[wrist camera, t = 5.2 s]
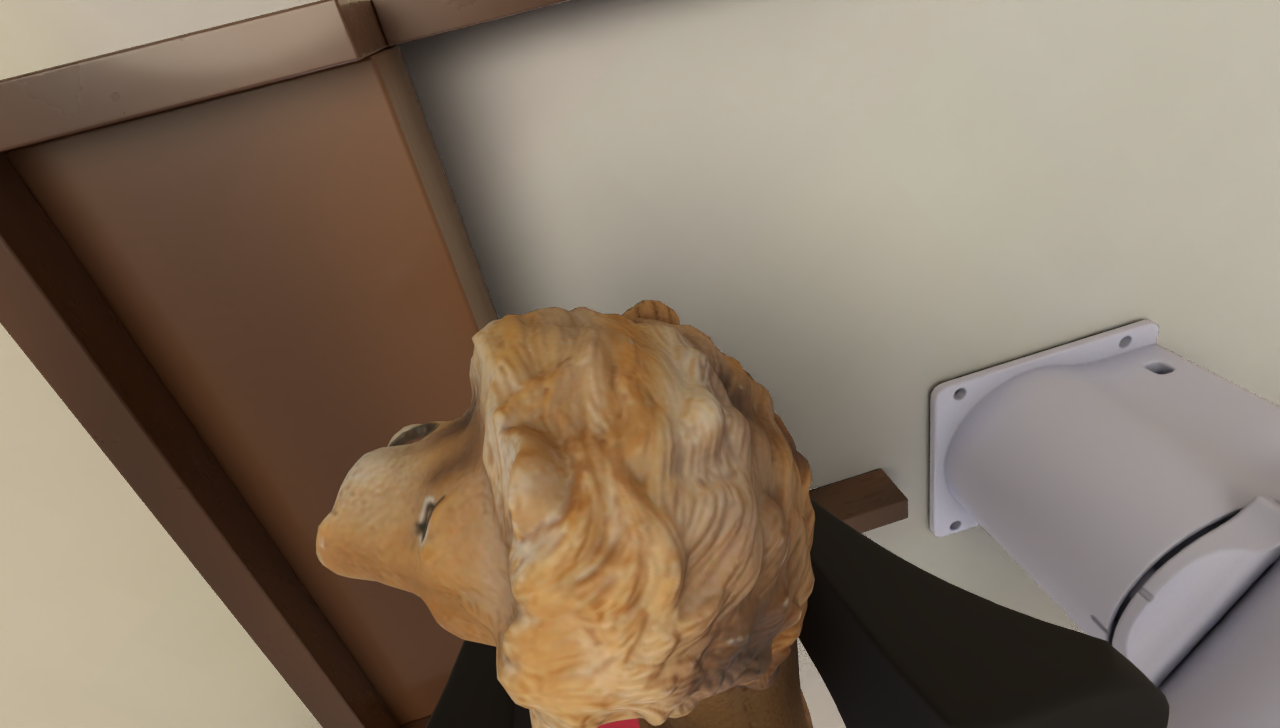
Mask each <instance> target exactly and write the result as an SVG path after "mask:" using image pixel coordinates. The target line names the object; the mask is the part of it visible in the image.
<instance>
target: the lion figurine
mask: <svg viewBox="0 0 1280 728" xmlns="http://www.w3.org/2000/svg"><path fill="white" fill-rule="evenodd" d="M472 340H473V343H474V351H473V356H472V358H471V364H470V373H469V375H470V382H471V389H472V399H471V405H470V407H469V408H468V409H467V410H466V412H465V413H464V414H463V415H462V416H461V417H459V418H457V419H455V420H453V421H435V422H429V423H425V424H412V425H409V426H406V427H404V428H402V429H401V430H400V431H399V432H397V433H396V434H395V435H394V436H393V437H392V438H391V440H390V442H389V444H388V446H387V447H382V448H379V449H376V450H373V451H371V452H368V453H366V454H364V455H363V456H362V457H361V458H360V459H359V460H358V461H357V462H356V463H355V464H354V466H353V467H352V468H351V469H350V470H349V472H348V474H347V476H346V477H345V479H344V481H343V483H342V485H341V487H340V490H339V492H338V495H337V498H336V501H335V504H334V506H333V509H332V511H331V512H330V513H329V514H328V515H327V516H326V517H325V519H324V520H323V521H322V522H321V523H320V524H319V526H318V531H317V538H316V554H317V556H318V558H319V561H320V562H321V563H322V565H324V566H325V567H327V568H328V569H330V570H331V571H333V572H334V573H336V574H337V575H341V576H345V577H349V578H355V579H362V580H370V581H377V582H380V583H383V584H386V585H388V586H391V587H395V588H398V589H401V590H405V591H408V592H411V593H414V594H415V595H417V596H419V597H420V598H422V600H423V601H424V602H425V603H426V605H427V606H428V608H429V610H430V611H431V613H432V615H433V617H434V619H435V620H436V622H437V623H438V624H439V625H440V626H441V627H442V628H443V629H445V630H447V631H448V632H450V633H452V634H453V635H455V636H457V637H459V638H462V639H464V640H468V641H472V642H477V643H482V644H486V645H491V646H495V647H496V668H497V679H498V681H499V682H500V683H501V685H502V686H503V687H504V689H505V690H506V691H507V693H508V694H509V696H510V697H511V699H512V700H513V701H514V702H515V704H517V705H519V706H522V707H524V708H527V709H529V712H530V718H531V724H532V728H597V727H598V726H600V725H602V724H606V723H610V722H615V721H620V720H628V719H636V718H638V721H639V725H640V728H813V725H812V721H811V717H810V713H809V710H808V707H807V704H806V701H805V698H804V696H803V693H802V690H801V688H800V679H799V664H798V648H797V638H798V637H799V636H800V632H801V629H802V623H803V619H804V616H805V613H806V610H807V599H808V597H809V596H810V594H811V593H812V590H813V585H814V581H815V578H814V574H813V570H812V566H811V559H810V551H811V547H812V544H813V534H814V524H815V512H814V509H813V507H812V504H811V501H810V496H809V488H810V485H811V481H812V474H811V470H810V466H809V463H808V461H807V459H806V458H805V457H804V456H803V455H801V454H800V453H799V452H797V451H796V447H795V444H794V441H793V438H792V437H791V435H790V434H789V432H788V431H787V429H786V427H785V425H784V424H783V422H782V420H781V419H780V417H779V416H778V415H777V414H776V413H775V412H774V407H773V402H772V397H771V396H770V394H769V392H768V391H767V390H766V389H765V388H764V387H763V386H762V385H760V384H759V383H757V382H756V381H754V380H753V378H752V377H751V376H750V374H749V373H747V372H746V371H745V370H744V369H743V368H742V366H741V365H740V363H739V362H738V361H737V360H735V359H734V358H731V357H729V356H726V355H725V354H724V353H722V352H721V351H720V350H719V349H718V348H717V347H716V346H714V344H713V342H712V340H711V338H710V337H709V336H707V335H705V334H704V333H702V332H701V331H699V330H697V329H696V328H694V327H692V326H690V325H680V323H679V317H678V315H677V314H676V313H675V312H674V310H673V309H671V308H670V307H668V306H667V305H665V304H664V303H662V302H660V301H653V300H643V301H641V302H639V303H637V304H636V305H635V306H634V307H632V308H630V309H628V310H627V311H626V312H625V313H624V314H623V316H622V315H619V314H601V313H598V312H596V311H593V310H591V309H588V308H586V307H578V308H575V309H573V310H571V311H567V310H565V309H562V308H557V307H551V308H544V309H537V310H535V311H532V312H529V313H527V314H524V315H513V314H511V315H505V316H504V317H503V318H502V319H498V320H493V321H491V322H490V323H488V324H487V325H486V326H485V327H484V328H482V329H481V330H480V331H479V332H477V333H476V334H475V335H474V336H473V337H472Z"/></svg>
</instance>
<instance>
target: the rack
mask: <svg viewBox="0 0 1280 728" xmlns="http://www.w3.org/2000/svg"><path fill="white" fill-rule="evenodd" d="M567 1H571V0H321V1H317V2H313V3H309V4H305V5H301V6H297V7H293V8H289V9H285V10H281V11H277V12H273V13H269V14H265V15H261V16H257V17H253V18H249V19H245V20H241V21H236V22H232V23H228V24H224V25H220V26H216V27H212V28H208V29H204V30H200V31H196V32H192V33H188V34H184V35H180V36H176V37H172V38H168V39H164V40H160V41H156V42H152V43H148V44H144V45H140V46H136V47H132V48H128V49H124V50H120V51H116V52H112V53H108V54H104V55H100V56H96V57H92V58H87V59H83V60H79V61H75V62H71V63H67V64H63V65H59V66H55V67H51V68H47V69H43V70H39V71H35V72H31V73H27V74H23V75H19V76H15V77H11V78H7V79H3V80H0V323H1V324H2V325H3V326H4V328H5V329H6V330H7V331H8V333H9V334H10V335H11V337H12V338H13V339H14V340H15V342H16V343H17V344H18V345H19V347H20V348H21V349H22V350H23V352H24V353H25V354H26V355H27V357H28V358H29V359H30V360H31V362H32V363H33V364H34V365H35V367H36V368H37V369H38V370H39V372H40V373H41V374H42V375H43V377H44V378H45V379H46V380H47V382H48V383H49V384H50V385H51V387H52V388H53V389H54V390H55V392H56V393H57V394H58V396H59V397H60V398H61V399H62V401H63V402H64V403H65V404H66V406H67V407H68V408H69V409H70V411H71V412H72V413H73V414H74V416H75V417H76V418H77V419H78V421H79V422H80V423H81V424H82V426H83V427H84V428H85V429H86V431H87V432H88V433H89V434H90V436H91V437H92V438H93V439H94V441H95V442H96V443H97V444H98V446H99V447H100V448H101V450H102V451H103V452H104V453H105V455H106V456H107V457H108V458H109V460H110V461H111V462H112V463H113V465H114V466H115V467H116V468H117V470H118V471H119V472H120V473H121V475H122V476H123V477H124V478H125V480H126V481H127V482H128V483H129V485H130V486H131V487H132V488H133V490H134V491H135V492H136V493H137V495H138V496H139V497H140V498H141V500H142V501H143V502H144V503H145V505H146V506H147V507H148V509H149V510H150V511H151V512H152V514H153V515H154V516H155V517H156V519H157V520H158V521H159V522H160V524H161V525H162V526H163V527H164V529H165V530H166V531H167V532H168V534H169V535H170V536H171V537H172V539H173V540H174V541H175V542H176V544H177V545H178V546H179V547H180V549H181V550H182V551H183V552H184V554H185V555H186V556H187V557H188V559H189V560H190V561H191V562H192V564H193V565H194V566H195V568H196V569H197V570H198V571H199V573H200V574H201V575H202V576H203V578H204V579H205V580H206V581H207V583H208V584H209V585H210V586H211V588H212V589H213V590H214V591H215V593H216V594H217V595H218V596H219V598H220V599H221V600H222V601H223V603H224V604H225V605H226V606H227V608H228V609H229V610H230V611H231V613H232V614H233V615H234V616H235V618H236V619H237V620H238V622H239V623H240V624H241V625H242V627H243V628H244V629H245V630H246V632H247V633H248V634H249V635H250V637H251V638H252V639H253V640H254V642H255V643H256V644H257V645H258V647H259V648H260V649H261V650H262V652H263V653H264V654H265V655H266V657H267V658H268V659H269V660H270V662H271V663H272V664H273V665H274V667H275V668H276V669H277V670H278V672H279V673H280V674H281V675H282V677H283V678H284V679H285V681H286V682H287V683H288V684H289V686H290V687H291V688H292V689H293V691H294V692H295V693H296V694H297V696H298V697H299V698H300V699H301V701H302V702H303V703H304V704H305V706H306V707H307V708H308V709H309V711H310V712H311V713H312V714H313V716H314V717H315V718H316V719H317V721H318V722H319V723H320V724H321V726H322V727H323V728H425V727H426V725H427V723H428V721H429V719H430V717H431V715H432V713H433V711H434V709H435V707H436V705H437V703H438V701H439V699H440V696H441V694H442V692H443V690H444V688H445V686H446V683H447V681H448V679H449V676H450V674H451V671H452V669H453V666H454V664H455V662H456V659H457V657H458V654H459V652H460V650H461V647H462V645H463V642H464V639H462V638H459V637H457V636H455V635H453V634H452V633H450V632H448V631H447V630H445V629H443V628H442V627H441V626H440V625H439V624H438V623H437V622H436V620H435V619H434V617H433V615H432V613H431V611H430V610H429V608H428V606H427V605H426V603H425V602H424V601H423V600H422V598H420V597H419V596H417V595H415V594H414V593H411V592H408V591H405V590H401V589H398V588H395V587H391V586H388V585H386V584H383V583H380V582H377V581H370V580H362V579H355V578H349V577H345V576H341V575H337V574H336V573H334V572H333V571H331V570H330V569H328V568H327V567H325V566H324V565H322V563H321V562H320V561H319V558H318V556H317V554H316V538H317V531H318V526H319V524H320V523H321V522H322V521H323V520H324V519H325V517H326V516H327V515H328V514H329V513H330V512H331V511H332V509H333V506H334V504H335V501H336V498H337V495H338V492H339V490H340V487H341V485H342V483H343V481H344V479H345V477H346V476H347V474H348V472H349V470H350V469H351V468H352V467H353V466H354V464H355V463H356V462H357V461H358V460H359V459H360V458H361V457H362V456H363V455H364V454H366V453H368V452H371V451H373V450H376V449H379V448H382V447H387V446H388V444H389V442H390V440H391V438H392V437H393V436H394V435H395V434H396V433H397V432H399V431H400V430H401V429H402V428H404V427H406V426H409V425H412V424H425V423H429V422H435V421H453V420H455V419H457V418H459V417H461V416H462V415H463V414H464V413H465V412H466V410H467V409H468V408H469V407H470V405H471V399H472V389H471V382H470V375H469V373H470V364H471V358H472V356H473V351H474V343H473V340H472V337H473V336H474V335H475V334H476V333H477V332H479V331H480V330H481V329H482V328H484V327H485V326H486V325H487V324H488V323H490V322H491V321H493V320H498V318H497V315H496V312H495V309H494V307H493V304H492V301H491V299H490V296H489V293H488V290H487V288H486V285H485V282H484V279H483V277H482V274H481V271H480V268H479V266H478V263H477V260H476V257H475V255H474V252H473V249H472V247H471V244H470V241H469V238H468V236H467V233H466V230H465V227H464V225H463V222H462V219H461V216H460V214H459V211H458V208H457V206H456V203H455V200H454V197H453V195H452V192H451V189H450V186H449V184H448V181H447V178H446V175H445V173H444V170H443V167H442V164H441V162H440V159H439V156H438V154H437V151H436V148H435V145H434V143H433V140H432V137H431V134H430V132H429V129H428V126H427V123H426V121H425V118H424V115H423V112H422V110H421V107H420V104H419V102H418V99H417V96H416V93H415V91H414V88H413V85H412V82H411V80H410V77H409V74H408V71H407V69H406V66H405V63H404V61H403V58H402V55H401V52H400V50H399V47H398V46H397V45H398V44H402V43H406V42H410V41H414V40H418V39H422V38H426V37H430V36H434V35H437V34H441V33H445V32H449V31H453V30H457V29H461V28H465V27H469V26H473V25H477V24H481V23H484V22H488V21H492V20H496V19H500V18H504V17H508V16H512V15H516V14H520V13H524V12H528V11H531V10H535V9H539V8H543V7H547V6H551V5H555V4H559V3H563V2H567ZM809 496H810V497H811V498H812V499H813V500H815V501H816V502H817V503H819V504H820V505H821V506H823V507H824V508H825V509H827V510H828V511H830V512H831V513H832V514H834V515H835V516H837V517H838V518H839V519H841V520H842V521H843V522H845V523H846V524H848V525H849V526H851V527H852V528H854V529H855V530H857V531H858V532H860V533H863V532H866V531H869V530H872V529H875V528H878V527H881V526H884V525H887V524H890V523H893V522H896V521H899V520H902V519H905V518H908V499H907V498H906V497H905V496H904V494H903V493H902V492H901V491H900V490H899V489H898V487H897V486H896V485H895V484H894V483H893V482H892V481H891V479H890V478H889V477H888V476H887V475H886V474H885V472H884V471H883V470H882V469H878V470H875V471H872V472H869V473H866V474H863V475H859V476H856V477H853V478H850V479H847V480H844V481H841V482H838V483H834V484H831V485H828V486H825V487H822V488H819V489H816V490H813V491H809Z"/></svg>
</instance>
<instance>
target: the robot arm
mask: <svg viewBox="0 0 1280 728" xmlns="http://www.w3.org/2000/svg"><path fill="white" fill-rule="evenodd" d="M1158 334H1159V326H1158V324H1156V323H1154V322H1152V321H1150V320H1142V321H1138V322H1135V323H1132V324H1129V325H1126V326H1122V327H1119V328H1116V329H1113V330H1110V331H1106V332H1103V333H1100V334H1097V335H1094V336H1090V337H1087V338H1084V339H1081V340H1078V341H1074V342H1071V343H1068V344H1065V345H1062V346H1058V347H1055V348H1052V349H1049V350H1046V351H1042V352H1039V353H1036V354H1033V355H1030V356H1026V357H1023V358H1020V359H1017V360H1014V361H1010V362H1007V363H1004V364H1001V365H998V366H994V367H991V368H988V369H985V370H982V371H978V372H975V373H972V374H969V375H966V376H962V377H959V378H956V379H953V380H950V381H946V382H943V383H941V384H939V385H937V386H936V387H935V388H934V389H933V391H932V393H931V400H930V530H931V531H932V533H933V534H934V535H935V536H936V537H945V536H948V535H951V534H954V533H957V532H960V531H963V530H966V529H969V528H972V527H975V526H978V525H981V526H982V527H983V528H984V529H985V531H986V532H987V533H988V534H989V535H990V536H991V537H992V538H993V539H994V540H995V541H996V542H997V543H998V544H999V545H1000V546H1001V547H1002V548H1003V549H1004V550H1005V551H1006V552H1007V554H1008V555H1009V556H1010V557H1011V558H1012V559H1013V560H1014V561H1015V562H1016V563H1017V564H1018V565H1019V566H1020V567H1021V568H1022V569H1023V570H1024V571H1025V572H1026V573H1027V574H1028V575H1029V576H1030V578H1031V579H1032V580H1033V581H1034V582H1035V583H1036V584H1037V585H1038V586H1039V587H1040V588H1041V589H1042V590H1043V591H1044V592H1045V593H1046V594H1047V595H1048V596H1049V597H1050V598H1051V599H1052V601H1053V602H1054V603H1055V604H1056V605H1057V606H1058V607H1059V608H1060V609H1061V610H1062V611H1063V612H1064V613H1065V614H1066V615H1067V616H1068V617H1069V618H1070V619H1071V620H1072V621H1073V622H1074V623H1075V625H1076V626H1077V627H1078V628H1079V629H1080V630H1081V631H1082V632H1083V633H1084V634H1083V633H1080V632H1077V631H1073V630H1070V629H1067V628H1064V627H1061V626H1057V625H1054V624H1051V623H1048V622H1044V621H1041V620H1039V619H1036V618H1033V617H1030V616H1028V615H1025V614H1022V613H1019V612H1017V611H1014V610H1011V609H1009V608H1006V607H1003V606H1001V605H998V604H996V603H993V602H991V601H989V600H987V599H984V598H982V597H980V596H977V595H975V594H973V593H970V592H968V591H966V590H964V589H961V588H959V587H957V586H954V585H952V584H950V583H948V582H946V581H944V580H942V579H940V578H938V577H936V576H934V575H932V574H930V573H928V572H926V571H924V570H922V569H920V568H918V567H917V566H915V565H913V564H911V563H909V562H907V561H906V560H904V559H902V558H900V557H898V556H897V555H895V554H893V553H892V552H890V551H888V550H887V549H885V548H883V547H882V546H880V545H878V544H877V543H875V542H874V541H872V540H871V539H869V538H867V537H866V536H864V535H863V534H861V533H860V532H858V531H857V530H855V529H854V528H852V527H851V526H849V525H848V524H846V523H845V522H843V521H842V520H841V519H839V518H838V517H837V516H835V515H834V514H832V513H831V512H830V511H828V510H827V509H825V508H824V507H823V506H821V505H820V504H819V503H817V502H816V501H815V500H813V499H812V498H811V497H810V501H811V504H812V507H813V509H814V512H815V524H814V534H813V544H812V547H811V551H810V559H811V566H812V570H813V574H814V578H815V581H814V585H813V590H812V593H811V594H810V596H809V597H808V599H807V610H806V613H805V616H804V619H803V623H802V629H801V632H800V636H799V639H800V641H801V642H802V644H803V646H804V648H805V649H806V651H807V653H808V654H809V656H810V658H811V660H812V661H813V663H814V665H815V667H816V668H817V670H818V672H819V673H820V675H821V677H822V679H823V681H824V682H825V684H826V686H827V688H828V690H829V692H830V694H831V696H832V698H833V700H834V702H835V704H836V706H837V708H838V710H839V713H840V715H841V717H842V719H843V721H844V723H845V726H846V728H1280V406H1278V405H1276V404H1274V403H1272V402H1270V401H1268V400H1266V399H1264V398H1262V397H1260V396H1258V395H1256V394H1254V393H1252V392H1250V391H1248V390H1246V389H1244V388H1242V387H1240V386H1238V385H1236V384H1234V383H1232V382H1230V381H1228V380H1226V379H1224V378H1222V377H1220V376H1218V375H1216V374H1214V373H1212V372H1210V371H1208V370H1206V369H1204V368H1202V367H1200V366H1198V365H1196V364H1194V363H1192V362H1191V361H1189V360H1187V359H1185V358H1183V357H1181V356H1179V355H1177V354H1175V353H1173V352H1171V351H1169V350H1167V349H1165V348H1163V347H1161V346H1159V345H1157V344H1156V343H1157V339H1158ZM958 389H959V391H958V392H957V393H956V394H954V393H955V392H956V391H957V390H958ZM425 728H532V724H531V718H530V712H529V709H527V708H524V707H522V706H519V705H517V704H515V702H514V701H513V700H512V699H511V697H510V696H509V694H508V693H507V691H506V690H505V689H504V687H503V686H502V685H501V683H500V682H499V681H498V679H497V668H496V647H495V646H491V645H486V644H482V643H477V642H472V641H468V640H464V642H463V645H462V647H461V650H460V652H459V654H458V657H457V659H456V662H455V664H454V666H453V669H452V671H451V674H450V676H449V679H448V681H447V683H446V686H445V688H444V690H443V692H442V694H441V696H440V699H439V701H438V703H437V705H436V707H435V709H434V711H433V713H432V715H431V717H430V719H429V721H428V723H427V725H426V727H425Z"/></svg>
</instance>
